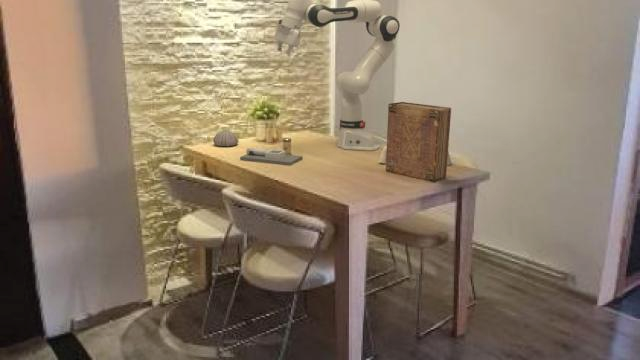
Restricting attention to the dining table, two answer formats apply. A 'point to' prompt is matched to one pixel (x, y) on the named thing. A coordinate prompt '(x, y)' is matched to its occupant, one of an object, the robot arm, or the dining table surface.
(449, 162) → the flask
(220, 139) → the sea urchin shell
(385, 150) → the faucet
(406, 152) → the book
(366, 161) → the dining table surface
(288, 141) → the brass valve
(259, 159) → the pipe board
